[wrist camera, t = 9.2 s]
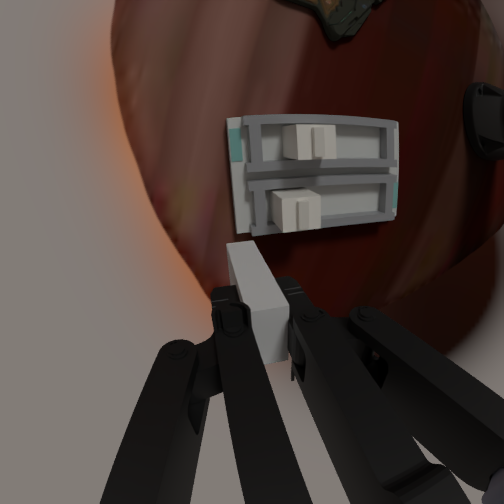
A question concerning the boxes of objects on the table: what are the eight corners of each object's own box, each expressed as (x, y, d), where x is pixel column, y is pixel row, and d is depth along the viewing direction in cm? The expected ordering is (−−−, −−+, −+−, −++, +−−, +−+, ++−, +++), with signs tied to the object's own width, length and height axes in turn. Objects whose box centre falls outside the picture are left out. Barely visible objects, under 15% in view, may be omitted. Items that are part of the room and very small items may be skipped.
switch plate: (391, 122, 31) (405, 122, 28) (389, 213, 36) (402, 219, 33) (225, 119, 28) (228, 116, 25) (235, 229, 33) (238, 238, 30)
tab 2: (303, 186, 31) (323, 196, 26) (304, 215, 32) (323, 230, 27) (269, 189, 30) (283, 200, 25) (271, 218, 32) (284, 234, 27)
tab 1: (315, 126, 28) (338, 124, 23) (317, 155, 30) (339, 159, 24) (281, 126, 28) (298, 124, 23) (283, 156, 29) (300, 160, 24)
